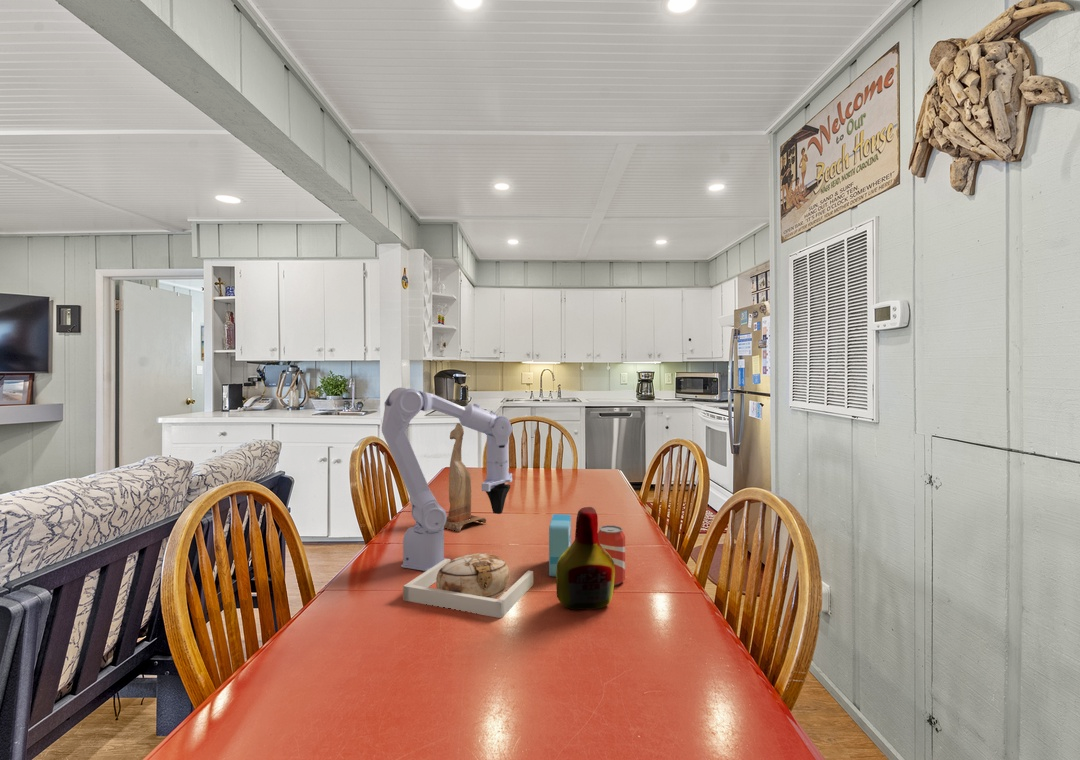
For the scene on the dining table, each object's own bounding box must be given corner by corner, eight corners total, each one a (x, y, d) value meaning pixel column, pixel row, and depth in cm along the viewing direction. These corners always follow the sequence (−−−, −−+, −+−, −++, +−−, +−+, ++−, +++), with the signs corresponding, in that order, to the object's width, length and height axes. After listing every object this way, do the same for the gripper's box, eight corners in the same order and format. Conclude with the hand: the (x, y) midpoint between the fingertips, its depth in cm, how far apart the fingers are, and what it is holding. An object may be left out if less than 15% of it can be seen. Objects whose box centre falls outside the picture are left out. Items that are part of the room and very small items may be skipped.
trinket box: (426, 601, 108) (426, 563, 108) (466, 575, 122) (466, 541, 122) (482, 613, 102) (482, 574, 102) (517, 585, 116) (517, 550, 116)
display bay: (403, 600, 108) (403, 585, 108) (445, 571, 124) (445, 558, 124) (501, 618, 100) (501, 602, 100) (533, 584, 116) (533, 571, 116)
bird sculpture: (460, 519, 169) (457, 420, 168) (487, 524, 162) (484, 421, 162) (434, 527, 160) (431, 423, 159) (462, 533, 153) (458, 424, 153)
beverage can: (627, 578, 119) (627, 526, 119) (619, 589, 114) (619, 534, 113) (602, 574, 122) (602, 523, 122) (593, 584, 116) (593, 530, 116)
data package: (568, 579, 119) (568, 527, 119) (549, 578, 119) (548, 526, 119) (571, 560, 131) (570, 512, 131) (553, 559, 131) (553, 512, 131)
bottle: (612, 599, 109) (612, 503, 108) (617, 613, 102) (617, 512, 102) (555, 599, 109) (555, 504, 108) (556, 613, 102) (556, 512, 102)
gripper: (499, 467, 128) (499, 522, 128) (522, 457, 141) (522, 507, 142) (474, 465, 130) (474, 519, 131) (498, 456, 144) (498, 505, 144)
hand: (497, 513), depth 136 cm, fingers closed
